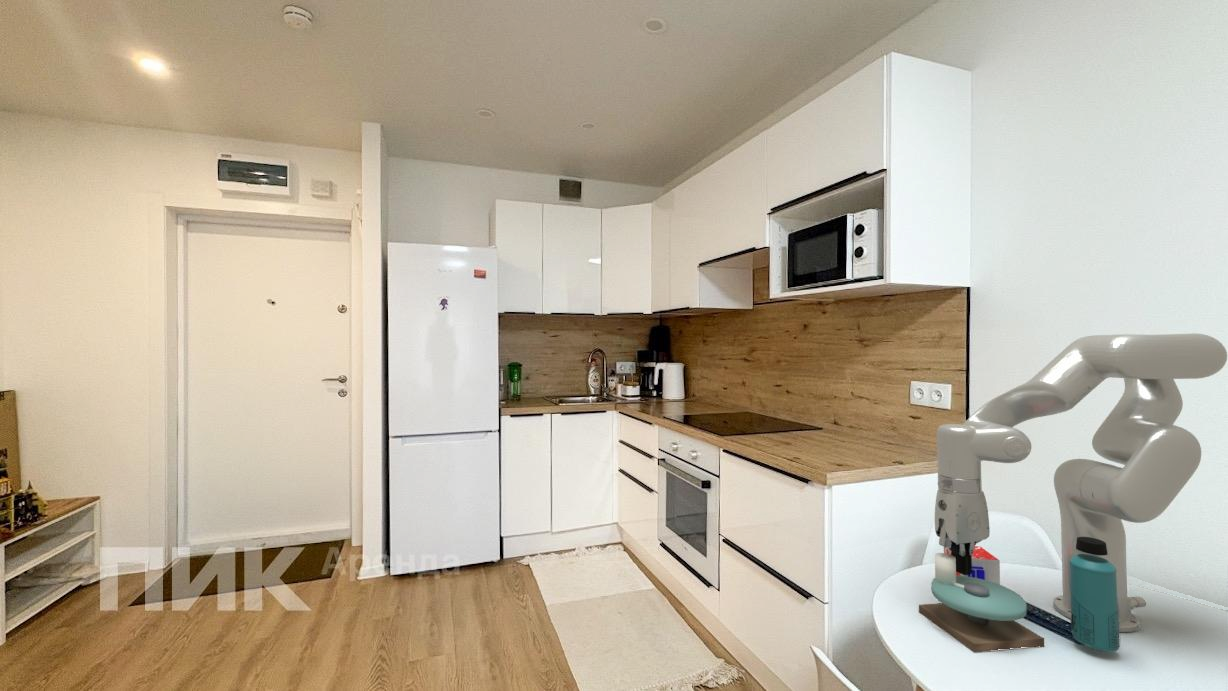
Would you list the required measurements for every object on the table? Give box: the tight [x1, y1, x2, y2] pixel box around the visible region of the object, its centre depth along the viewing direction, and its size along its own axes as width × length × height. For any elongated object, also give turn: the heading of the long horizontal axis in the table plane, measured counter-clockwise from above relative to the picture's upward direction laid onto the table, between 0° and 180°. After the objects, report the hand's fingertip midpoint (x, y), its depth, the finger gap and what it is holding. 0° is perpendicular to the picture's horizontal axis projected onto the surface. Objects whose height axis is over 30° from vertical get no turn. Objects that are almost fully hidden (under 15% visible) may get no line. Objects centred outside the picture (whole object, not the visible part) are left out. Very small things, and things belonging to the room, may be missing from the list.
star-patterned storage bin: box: [943, 545, 1001, 585], centre depth 114 cm, size 8×8×8 cm
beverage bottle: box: [1069, 537, 1121, 653], centre depth 90 cm, size 6×7×20 cm
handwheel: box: [931, 552, 1028, 621], centre depth 97 cm, size 15×15×6 cm
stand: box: [918, 602, 1045, 653], centre depth 97 cm, size 14×14×5 cm
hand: (961, 571), depth 103 cm, fingers closed
